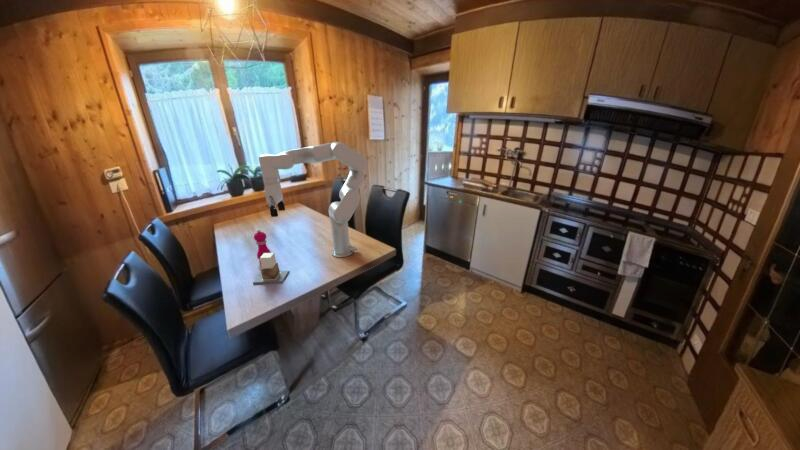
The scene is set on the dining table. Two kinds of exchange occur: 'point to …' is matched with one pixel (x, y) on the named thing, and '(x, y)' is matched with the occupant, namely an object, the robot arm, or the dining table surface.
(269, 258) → the cream block
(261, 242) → the pepper mill
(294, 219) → the dining table surface
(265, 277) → the walnut block
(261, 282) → the pad
